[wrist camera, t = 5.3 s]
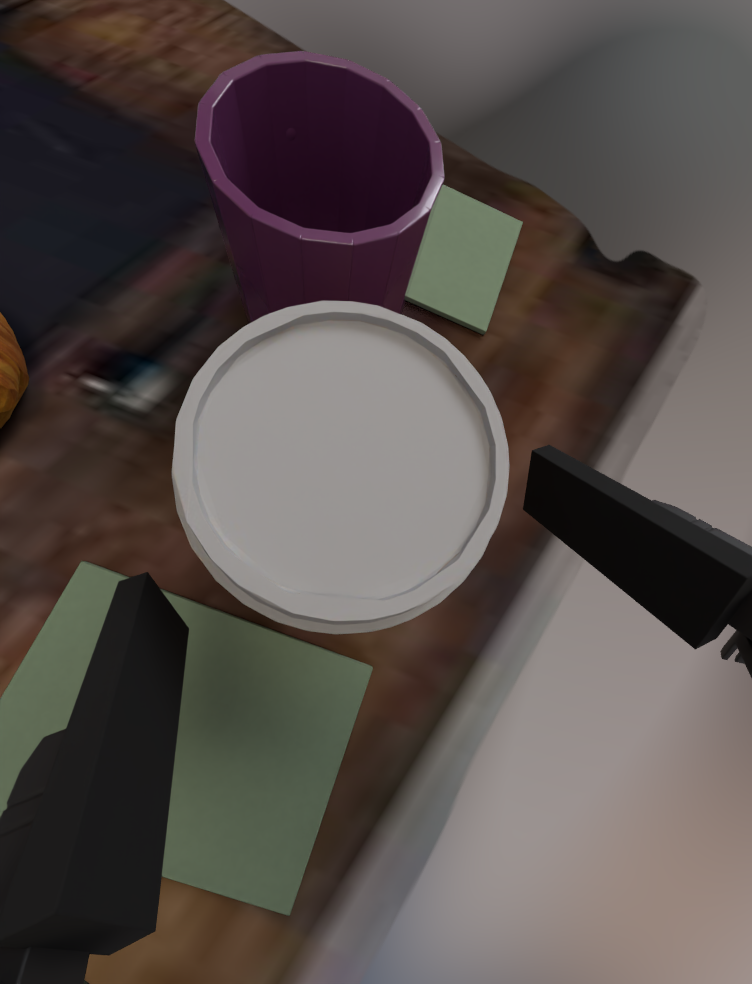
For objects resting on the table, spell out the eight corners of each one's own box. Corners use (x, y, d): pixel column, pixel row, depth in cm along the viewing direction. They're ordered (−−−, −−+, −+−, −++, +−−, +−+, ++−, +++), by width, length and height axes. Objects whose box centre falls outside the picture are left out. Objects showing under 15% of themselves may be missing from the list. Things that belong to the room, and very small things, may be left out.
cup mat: (-55, 801, 15) (-64, 807, 15) (85, 561, 18) (80, 561, 18) (290, 908, 16) (289, 916, 16) (371, 665, 19) (373, 667, 19)
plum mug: (408, 376, 23) (483, 214, 13) (285, 418, 21) (250, 269, 11) (340, 238, 25) (354, -11, 14) (220, 265, 23) (131, 1, 12)
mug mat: (272, 241, 24) (272, 236, 23) (333, 138, 27) (333, 132, 26) (483, 335, 25) (486, 331, 24) (520, 226, 28) (523, 222, 27)
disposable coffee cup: (214, 533, 19) (51, 480, 8) (318, 409, 22) (316, 227, 10) (353, 633, 19) (403, 734, 8) (441, 498, 22) (580, 418, 10)
